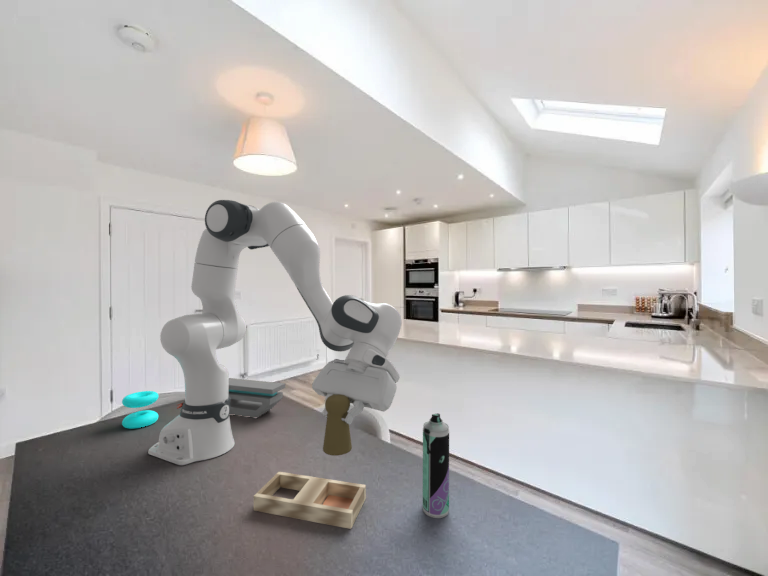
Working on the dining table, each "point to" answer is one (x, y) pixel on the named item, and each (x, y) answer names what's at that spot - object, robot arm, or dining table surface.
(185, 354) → the robot arm
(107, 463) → the dining table surface
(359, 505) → the socket rail
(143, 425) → the donuts
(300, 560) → the dining table surface
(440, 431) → the spray can
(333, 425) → the olive round-headed peg
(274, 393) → the grey lidded container
